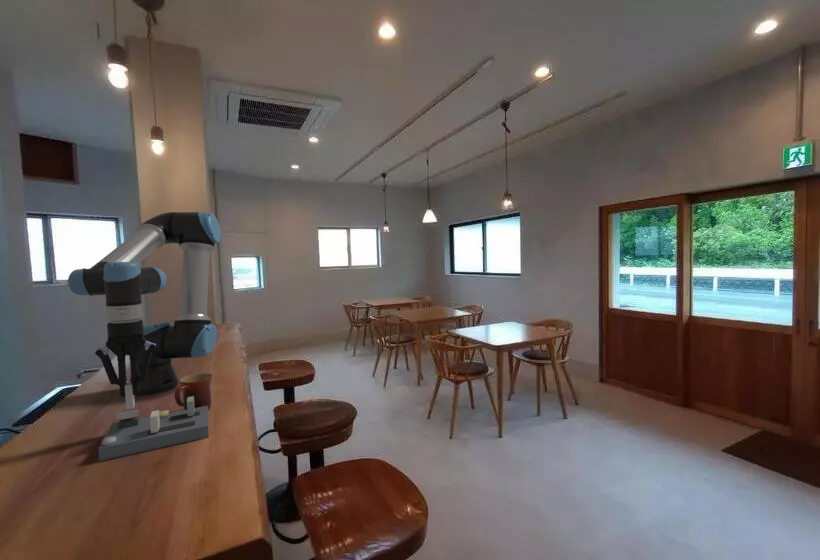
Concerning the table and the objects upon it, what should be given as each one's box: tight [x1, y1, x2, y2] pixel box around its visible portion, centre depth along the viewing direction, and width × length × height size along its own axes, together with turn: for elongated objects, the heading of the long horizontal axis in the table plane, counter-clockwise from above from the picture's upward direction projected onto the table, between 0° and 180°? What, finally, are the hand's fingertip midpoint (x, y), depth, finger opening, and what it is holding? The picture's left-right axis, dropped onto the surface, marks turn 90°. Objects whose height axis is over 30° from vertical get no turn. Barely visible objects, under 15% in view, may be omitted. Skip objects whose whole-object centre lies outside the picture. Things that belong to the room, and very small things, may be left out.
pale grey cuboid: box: [150, 410, 160, 433], centre depth 92 cm, size 4×2×4 cm, turn 29°
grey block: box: [187, 396, 195, 416], centre depth 101 cm, size 4×2×4 cm, turn 29°
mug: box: [174, 372, 213, 411], centre depth 110 cm, size 12×9×10 cm
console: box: [97, 406, 210, 462], centre depth 96 cm, size 15×22×4 cm
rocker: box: [115, 408, 140, 421], centre depth 96 cm, size 8×4×2 cm, turn 29°
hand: (130, 407), depth 99 cm, fingers closed
